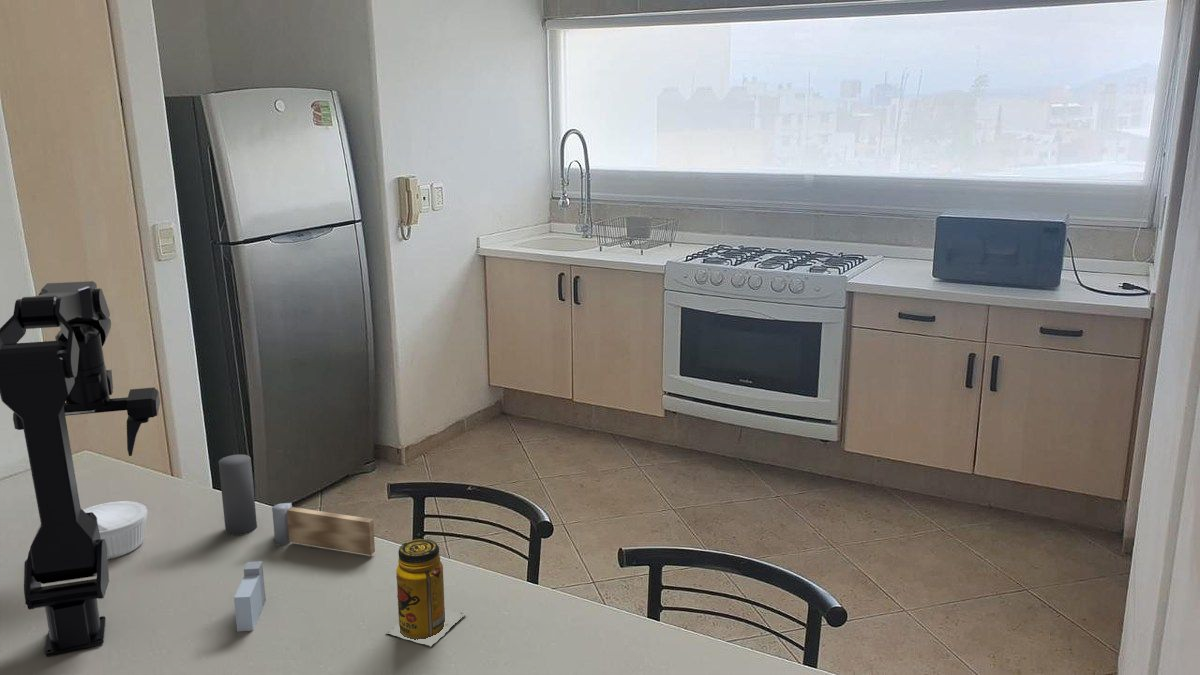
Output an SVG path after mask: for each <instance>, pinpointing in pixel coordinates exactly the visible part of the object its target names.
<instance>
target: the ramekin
mask: <svg viewBox="0 0 1200 675" xmlns="http://www.w3.org/2000/svg"><path fill="white" fill-rule="evenodd" d="M82 510H83V511H84V512H85V513H90V512H93V513H94V515H95V516H96V517H97V523H98V528H99V533H100V537H101V539H105V541H106V545H107V557H108V560H111V559H115V558H116V559H117V558H119V557H121V556H125V555H127V554H129V553H131V552H133V551H134V550H136V549H137V548H139V547H140V546H141V544H142V543H143V542H144V540H145V537H146V526H147V518H148V507H146V506H145V505H144V504H143V503H140V502H136V501H130V500H127V501H126V500H122V501H121V500H120V501H112V502H111V501H110V502H105V503H100V504H96V505H93V506H90V507H87V508H84V509H82ZM110 558H111V559H110Z"/></svg>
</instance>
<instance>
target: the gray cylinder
mask: <svg viewBox="0 0 1200 675" xmlns="http://www.w3.org/2000/svg"><path fill="white" fill-rule="evenodd" d="M218 468H219V478H220V488H221V497H222V508H223V509H222V510H223V519H224V529H225V530H224V531H225V533H226V534H227V535H230V536H242V535H243V536H244V535H247V534H249V533H252V532H254V531H255V530H256V529H257V528H258V525H257V523H258V520H257V511H256V501H255V490H254V479H253V478H254V477H253V468H252V458H251V456H249V455H247V454H232V455H231V454H230V455H227V456H225V457H222V458H220V460H218Z"/></svg>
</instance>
